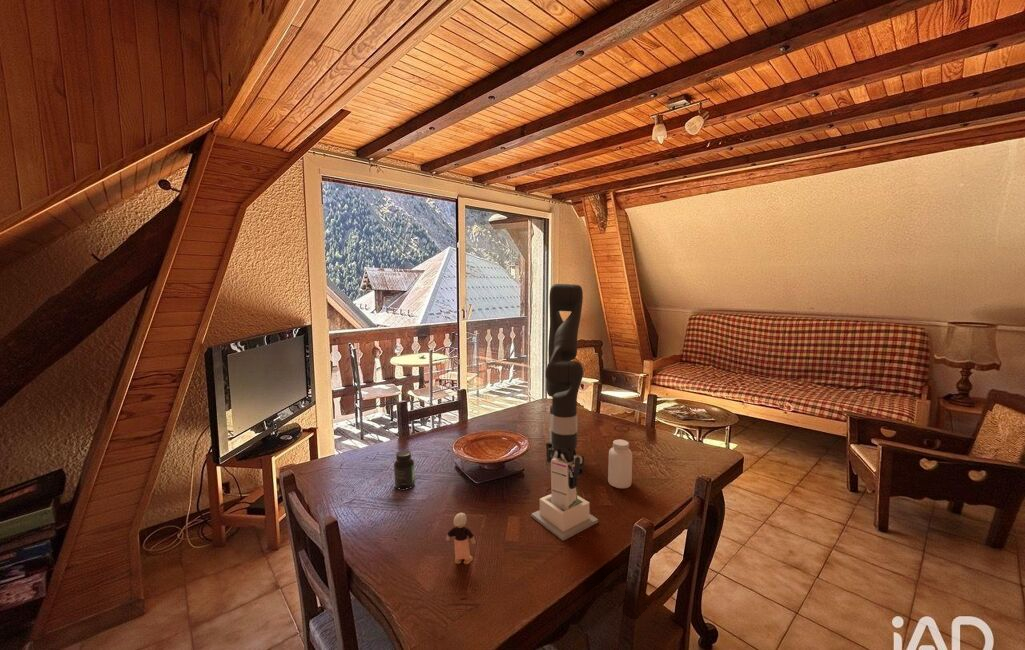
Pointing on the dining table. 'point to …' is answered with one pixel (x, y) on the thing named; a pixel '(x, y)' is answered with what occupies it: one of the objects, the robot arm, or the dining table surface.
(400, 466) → the supplement bottle
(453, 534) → the grandmother figurine
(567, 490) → the syrup box
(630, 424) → the dining table surface
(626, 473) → the pill bottle
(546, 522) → the socket
